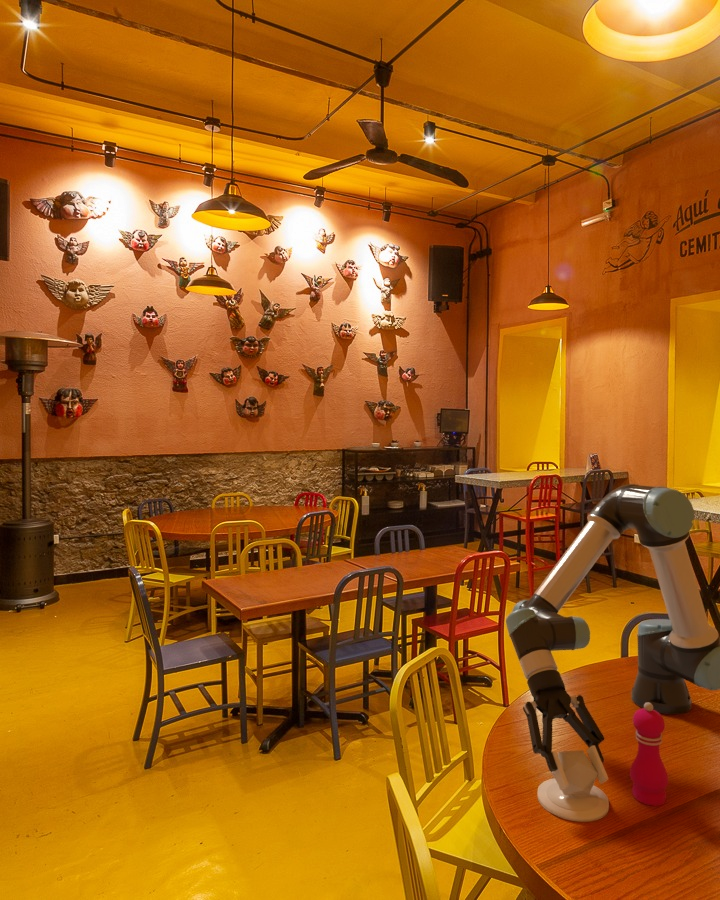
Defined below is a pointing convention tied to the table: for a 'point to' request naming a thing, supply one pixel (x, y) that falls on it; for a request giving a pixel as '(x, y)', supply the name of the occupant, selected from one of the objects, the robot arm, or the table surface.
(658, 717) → the pepper mill
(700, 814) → the table surface
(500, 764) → the table surface
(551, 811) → the plate
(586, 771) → the die
